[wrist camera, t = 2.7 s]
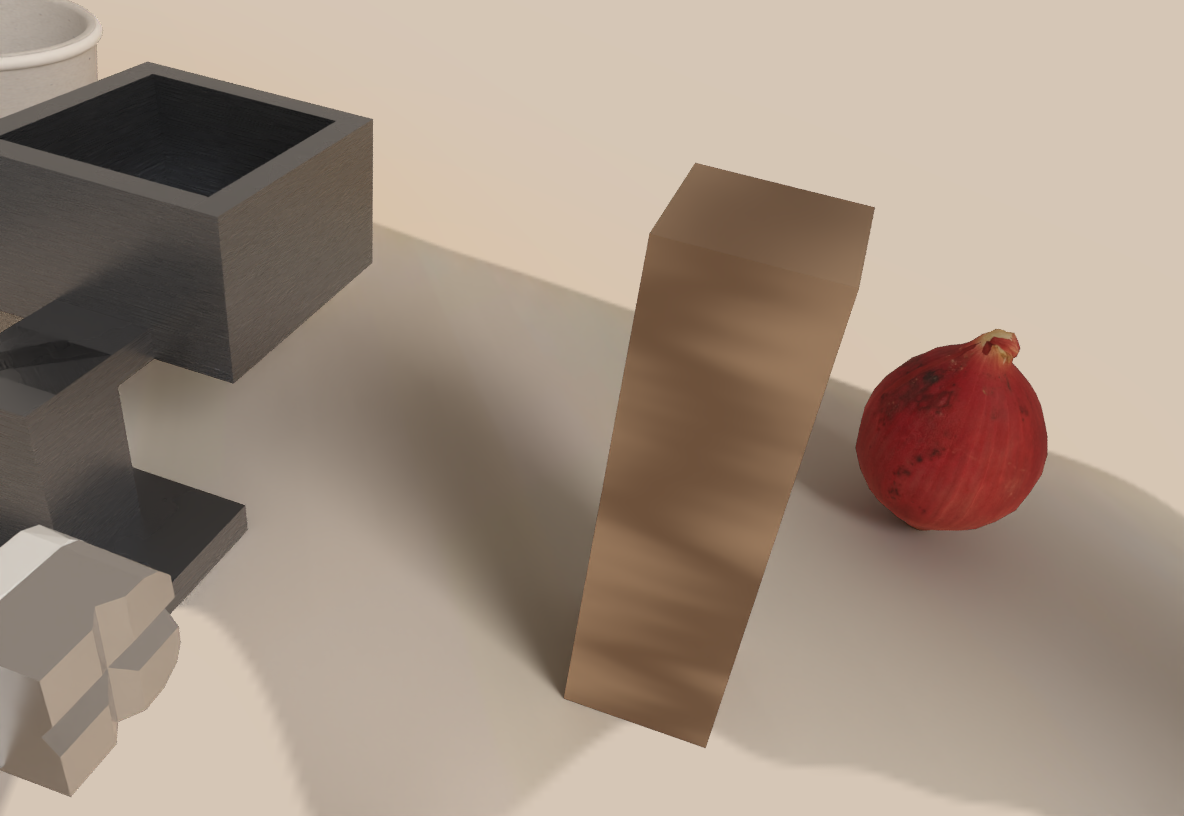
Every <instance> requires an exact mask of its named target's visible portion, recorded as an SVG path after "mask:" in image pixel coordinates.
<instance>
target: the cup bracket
mask: <svg viewBox="0 0 1184 816" xmlns="http://www.w3.org/2000/svg"><path fill="white" fill-rule="evenodd" d="M372 176H373V119H370V118H366V117H362V116H358V115H354V114H350V113H346V112H343V111H339V110H334V109H331V108H327V107H322V106H319V105H315V104H311V103H307V102H303V101H299V100H295V99H291V98H287V97H283V96H279V95H276V94H272V93H268V92H264V91H260V90H256V89H252V88H249V87H244V86H241V85H236V84H233V83H229V82H225V81H221V80H217V79H213V78H209V77H205V76H202V75H198V74H194V73H190V72H185V71H182V70H178V69H174V68H170V67H166V66H162V65H158V64H154V63H150V62H146V63H143V64H140V65H138V66H135V67H133V68H130V69H127V70H125V71H122V72H120V73H117V74H114V75H112V76H109V77H107V78H104V79H101V80H99V81H96V82H94V83H91V84H89V85H86V86H83V87H81V88H78V89H76V90H73V91H70V92H68V93H65V94H63V95H60V96H57V97H55V98H52V99H50V100H47V101H44V102H42V103H39V104H37V105H34V106H32V107H29V108H26V109H24V110H21V111H19V112H16V113H13V114H11V115H8V116H6V117H3V118H0V311H4V312H7V313H10V314H13V315H16V316H20V317H23V318H24V319H22V320H21V321H19V322H17V323H16V324H14V325H13V326H11V327H9V328H8V329H6V330H4V331H3V332H1V333H0V547H1V546H2V545H4V544H5V543H6V542H7V541H9V540H10V539H11V538H12V537H14V536H15V535H16V534H17V533H19V532H20V531H22V530H25V529H28V528H31V527H34V526H37V525H42V526H44V527H47V528H50V529H52V530H55V531H58V532H61V533H63V534H66V535H69V536H71V537H74V538H77V539H80V540H82V541H84V542H86V543H89V544H91V545H94V546H97V547H99V548H102V549H104V550H107V551H109V552H112V553H115V554H117V555H120V556H122V557H125V558H127V559H130V560H133V561H135V562H138V563H140V564H143V565H146V566H148V567H151V568H153V569H156V570H158V571H161V572H164V573H166V574H169V575H171V580H172V586H173V591H174V596H175V598H174V599H173V600H172V601H171V602H170V603H169V604H168V605H167V606H166V607H165V609H166V610H167V612H168V613H169V614H171V613H172V611H173V610H174V609H175V608H176V607H177V606H178V605H179V604H180V603H181V602H182V601H183V599H184V598H185V597H186V596H187V595H188V594H189V593H190V592H191V591H192V590H193V589H194V587H195V586H196V585H197V584H198V583H199V582H200V581H201V580H202V579H203V578H204V577H205V575H206V574H207V573H208V572H209V571H210V570H211V569H212V568H213V567H214V566H215V565H216V563H217V562H218V561H219V560H220V559H221V558H222V557H223V556H224V555H225V554H226V553H227V551H228V550H229V549H230V548H231V547H232V546H233V545H234V544H235V543H236V542H237V541H238V539H239V538H240V537H241V536H242V535H243V534H244V533H245V532H246V531H247V530H248V529H247V518H246V508H245V505H243V504H240V503H237V502H234V501H231V500H228V499H225V498H222V497H219V496H216V495H213V494H210V493H207V492H204V491H201V490H198V489H195V488H192V487H189V486H186V485H183V484H180V483H177V482H174V481H171V480H168V479H165V478H162V477H159V476H156V475H153V474H150V473H147V472H144V471H141V470H138V469H136V468H133V467H132V463H131V458H130V452H129V447H128V441H127V436H126V430H125V425H124V419H123V414H122V408H121V403H120V397H119V391H118V386H119V385H120V384H121V383H123V382H124V381H125V380H127V379H128V378H129V377H130V376H132V375H133V374H134V373H136V372H137V371H138V370H140V369H141V368H142V367H144V366H145V365H146V364H148V363H149V362H150V361H152V360H153V359H157V360H160V361H163V362H167V363H170V364H173V365H176V366H179V367H182V368H186V369H189V370H192V371H195V372H198V373H202V374H205V375H208V376H211V377H214V378H218V379H221V380H224V381H227V382H230V383H235V382H236V381H237V380H238V379H239V378H240V377H242V376H243V375H244V374H245V373H246V372H247V371H248V370H250V369H251V368H252V367H253V366H254V365H255V364H256V363H258V362H259V361H260V360H261V359H262V358H263V357H265V356H266V355H267V354H268V353H269V352H270V351H271V350H273V349H274V348H275V347H276V346H277V345H278V344H279V343H281V342H282V341H283V340H284V339H285V338H286V337H287V336H289V335H290V334H291V333H292V332H293V331H294V330H296V329H297V328H298V327H299V326H300V325H301V324H302V323H304V322H305V321H306V320H307V319H308V318H309V317H310V316H312V315H313V314H314V313H315V312H316V311H317V310H318V309H320V308H321V307H322V306H323V305H324V304H325V303H327V302H328V301H329V300H330V299H331V298H332V297H333V296H335V295H336V294H337V293H338V292H339V291H340V290H341V289H343V288H344V287H345V286H346V285H347V284H348V283H349V282H351V281H352V280H353V279H354V278H355V277H356V276H358V275H359V274H360V273H361V272H362V271H363V270H364V269H366V268H367V267H368V266H369V265H370V264H371V263H372V194H373V193H372V192H373V191H372V189H373V186H372V184H373V182H372V181H373V180H372V179H373V177H372Z"/></svg>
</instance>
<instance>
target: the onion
mask: <svg viewBox="0 0 1184 816" xmlns="http://www.w3.org/2000/svg"><path fill="white" fill-rule="evenodd" d="M1019 350H1020V346H1019V343H1018V340H1017V338H1016V336H1015V334H1014V333H1011V332H1006V331H1004V330H1000V329H995V330H993V331H991V332H988V333H985V334H982V335H981V336H979V337H977V338H975V339H974V340H972V341H970V342H968V343H964V344H957V345H948V346H943V347H937V348H935V349H932V350H931V351H928V352H926V353H924V354H921V355H918V356H915V357H913V358H911V359H910V360H909V361H907V362H905V363H904V364H902V365H901V366H900V367H898V368H897V369H895V370H894V371H893V372H891V373H890V374H888V375H887V376H886V377H885V378H884V379H883V380H882V381H881V383H880V384H879V385H878V386H877V387H876V388H875V389H874V391H873V393H872V394H871V396H870V398H869V400H868V402H867V404H866V406H865V408H864V412H863V416H862V420H861V424H860V428H859V433H858V438H857V443H856V452H857V457H858V461H859V466H860V469H861V471H862V474H863V476H864V478H865V480H866V482H867V485H868V487H869V489H870V490H871V491H872V493H873V494H874V495H875V497H876V498H877V499H878V500H879V501H880V502H881V503H882V504H883V505H884V506H885V507H886V508H888V509H889V510H890V511H891V512H892V513H893V514H895V515H896V516H897V517H898V518H900V519H901V520H903V521H905V522H906V523H907V524H908V525H910V526H912V527H914V528H916V529H918V530H969V529H976V528H979V527H982V526H985V525H987V524H990V523H993V522H996V521H997V520H999V519H1001V518H1003V517H1005V516H1006V515H1008V514H1010V513H1012V512H1013V511H1015V510H1016V509H1017V508H1018V507H1019V505H1020V504H1021V503H1022V502H1023V500H1024V499H1025V498H1026V497H1027V495H1028V494H1029V493H1030V491H1031V490H1032V488H1033V487H1034V485H1035V484H1036V482H1037V481H1038V479H1039V478H1040V476H1041V475H1042V472H1043V468H1044V465H1045V461H1046V458H1047V432H1046V426H1045V422H1044V417H1043V412H1042V408H1041V404H1040V402H1039V400H1038V397H1037V395H1036V393H1035V391H1034V390H1033V388H1032V387H1031V385H1030V383H1029V382H1028V381H1027V379H1026V378H1025V377H1024V376H1023V374H1022V373H1021V372H1020V371H1019V370H1018V368H1017V367H1016V366H1014V364H1013V363H1012V361H1013V358H1015V357H1016V356H1017V354H1018V352H1019Z"/></svg>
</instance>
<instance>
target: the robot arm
mask: <svg viewBox="0 0 1184 816" xmlns="http://www.w3.org/2000/svg"><path fill="white" fill-rule="evenodd" d="M174 598H175V596H174V591H173V586H172V580H171V575H169V574H166V573H164V572H161V571H158V570H156V569H153V568H151V567H148V566H146V565H143V564H140V563H138V562H135V561H133V560H130V559H127V558H125V557H122V556H120V555H117V554H115V553H112V552H109V551H107V550H104V549H102V548H99V547H97V546H94V545H91V544H89V543H86V542H84V541H82V540H80V539H77V538H74V537H71V536H69V535H66V534H63V533H61V532H58V531H55V530H52V529H50V528H47V527H44V526H42V525H37V526H34V527H31V528H28V529H25V530H22V531H20V532H19V533H17V534H16V535H15V536H14V537H12V538H11V539H10V540H9V541H7V542H6V543H5V544H4V545H2V546H1V547H0V770H1V771H4V772H6V773H9V774H12V775H14V776H17V777H20V778H22V779H25V780H27V781H30V782H33V783H35V784H38V785H41V786H43V787H46V788H49V789H51V790H54V791H56V792H59V793H62V794H64V795H67V796H70V797H71V796H72V795H73V794H74V793H75V791H76V790H77V789H78V788H79V787H80V786H81V784H82V783H83V782H84V781H85V780H86V779H87V778H88V776H89V775H90V774H91V773H92V772H93V771H94V769H95V768H96V767H97V766H98V765H99V764H100V763H101V761H102V760H103V759H104V758H105V757H106V755H107V754H108V753H109V752H110V751H111V750H112V749H113V748H114V746H115V745H116V743H117V729H118V722H119V721H121V720H124V719H126V718H129V717H131V716H133V715H135V714H138V713H140V712H143V711H145V710H146V709H147V708H148V707H149V706H150V704H151V703H152V702H153V701H154V699H155V698H156V697H157V696H158V695H159V693H160V692H161V691H162V690H163V689H164V687H165V685H166V683H167V681H168V679H169V677H170V675H171V673H172V671H173V669H174V667H175V665H176V663H177V659H178V653H179V648H180V634H179V626H178V625H177V624H176V622H175V621H174V620H173V618H172V617H171V616H170V614H169V613H168V612H167V610H166V609H165V607H166V606H167V605H168V604H169V603H170V602H171V601H172V600H173V599H174Z"/></svg>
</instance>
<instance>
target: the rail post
mask: <svg viewBox="0 0 1184 816" xmlns="http://www.w3.org/2000/svg"><path fill="white" fill-rule="evenodd" d="M874 209H875V208H874V207H871V206H867V205H863V204H859V203H855V202H851V201H847V200H843V199H839V198H835V197H831V196H827V195H823V194H818V193H815V192H811V191H806V190H802V189H798V188H794V187H790V186H786V185H782V184H778V183H774V182H770V181H766V180H762V179H758V178H754V177H750V176H746V175H741V174H738V173H734V172H730V171H726V170H722V169H718V168H714V167H710V166H706V165H702V164H698V163H695V164H694V166H693V167H692V169H691V170H690V172H689V173H688V175H687V177H686V178H685V180H684V181H683V183H682V184H681V186H680V187H679V189H678V190H677V192H676V194H675V195H674V197H673V198H672V200H671V201H670V203H669V204H668V206H667V207H666V209H665V211H664V212H663V214H662V215H661V217H660V218H659V220H658V221H657V223H656V224H655V226H654V228H653V229H652V231H651V232H650V234H649V239H648V245H647V251H646V256H645V261H644V267H643V272H642V277H641V283H640V288H639V293H638V299H637V304H636V310H635V315H634V321H633V326H632V331H631V337H630V342H629V348H628V353H627V358H626V364H625V369H624V375H623V380H622V385H621V391H620V396H619V402H618V407H617V413H616V418H615V423H614V429H613V434H612V440H611V445H610V450H609V456H608V461H607V467H606V472H605V477H604V483H603V488H602V494H601V499H600V505H599V510H598V515H597V521H596V526H595V532H594V537H593V542H592V548H591V553H590V559H589V564H588V569H587V575H586V580H585V586H584V591H583V597H582V602H581V607H580V613H579V618H578V624H577V629H576V634H575V640H574V645H573V651H572V656H571V661H570V667H569V672H568V678H567V683H566V689H565V694H564V699H567V700H570V701H573V702H576V703H578V704H581V705H584V706H587V707H590V708H593V709H596V710H598V711H601V712H604V713H607V714H610V715H613V716H615V717H618V718H621V719H624V720H627V721H630V722H633V723H635V724H638V725H641V726H644V727H647V728H650V729H652V730H655V731H658V732H661V733H664V734H667V735H670V736H673V737H675V738H679V739H681V740H684V741H687V742H690V743H693V744H696V745H699V746H701V747H704V748H706V745H707V742H708V739H709V736H710V733H711V730H712V727H713V724H714V721H715V718H716V715H717V712H718V709H719V706H720V703H721V700H722V697H723V694H724V691H725V688H726V685H727V682H728V679H729V676H730V673H731V670H732V667H733V664H734V661H735V658H736V655H737V652H738V649H739V646H740V643H741V640H742V637H743V634H744V631H745V628H746V625H747V622H748V619H749V616H750V613H751V610H752V607H753V604H754V601H755V598H756V595H757V592H758V589H759V586H760V583H761V580H762V577H763V574H764V571H765V568H766V565H767V562H768V559H769V556H770V553H771V550H772V547H773V544H774V541H775V538H776V535H777V532H778V529H779V526H780V523H781V520H782V517H783V514H784V511H785V508H786V505H787V502H788V499H789V496H790V493H791V490H792V487H793V484H794V481H795V478H796V475H797V472H798V469H799V466H800V463H801V460H802V457H803V454H804V451H805V448H806V445H807V442H808V439H809V436H810V433H811V430H812V427H813V424H814V421H815V418H816V415H817V412H818V409H819V406H820V403H821V400H822V397H823V394H824V391H825V388H826V385H827V382H828V379H829V376H830V373H831V370H832V367H833V364H834V361H835V358H836V355H837V353H838V349H839V347H840V343H841V341H842V338H843V335H844V332H845V328H846V326H847V323H848V319H849V317H850V314H851V311H852V307H853V305H854V301H855V298H856V296H857V293H858V290H859V285H860V280H861V275H862V270H863V265H864V259H865V255H866V250H867V245H868V239H869V234H870V229H871V224H872V219H873V214H874Z"/></svg>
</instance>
